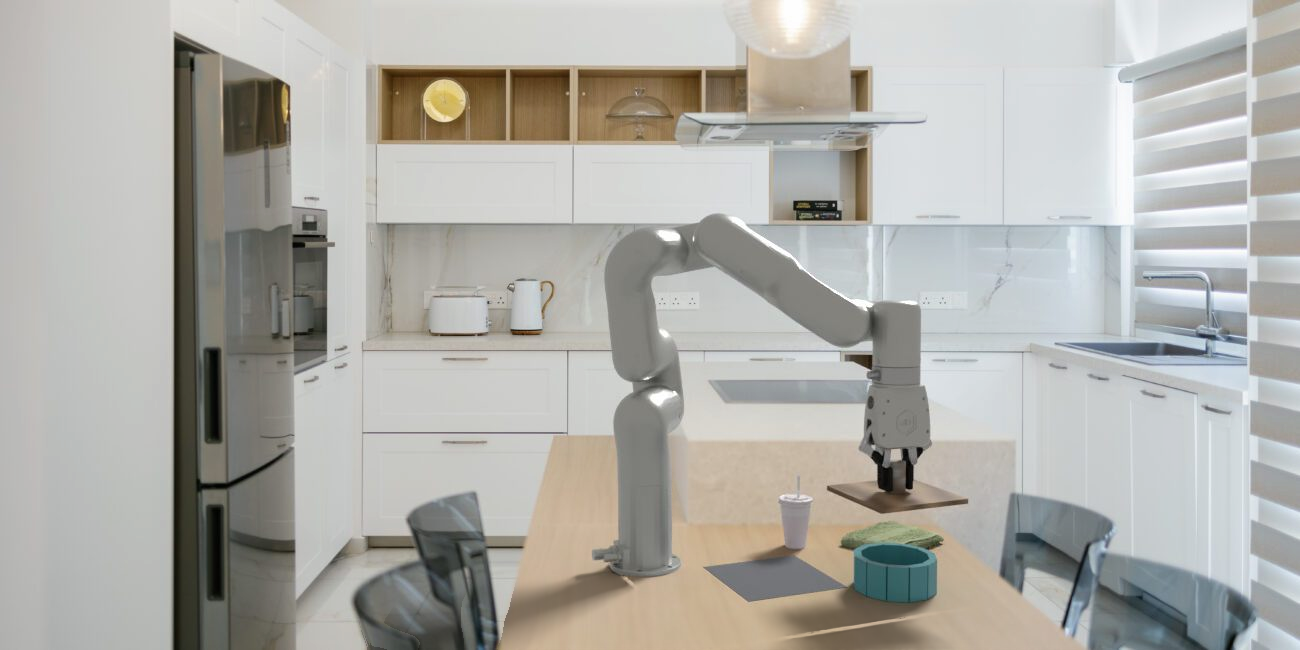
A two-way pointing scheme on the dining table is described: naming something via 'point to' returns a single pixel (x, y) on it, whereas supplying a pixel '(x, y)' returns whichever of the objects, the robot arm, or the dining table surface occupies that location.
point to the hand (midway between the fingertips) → (895, 487)
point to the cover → (897, 493)
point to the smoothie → (795, 517)
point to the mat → (773, 578)
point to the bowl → (895, 572)
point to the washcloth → (891, 535)
